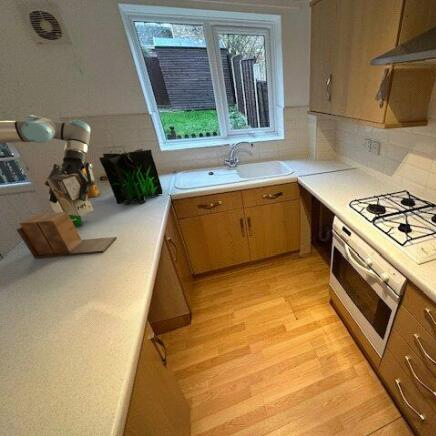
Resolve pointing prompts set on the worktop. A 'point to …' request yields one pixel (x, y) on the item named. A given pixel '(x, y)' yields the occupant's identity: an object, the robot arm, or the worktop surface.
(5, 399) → the worktop surface
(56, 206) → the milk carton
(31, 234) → the rack
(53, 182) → the coffee box
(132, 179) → the decorative plant
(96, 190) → the coffee package
